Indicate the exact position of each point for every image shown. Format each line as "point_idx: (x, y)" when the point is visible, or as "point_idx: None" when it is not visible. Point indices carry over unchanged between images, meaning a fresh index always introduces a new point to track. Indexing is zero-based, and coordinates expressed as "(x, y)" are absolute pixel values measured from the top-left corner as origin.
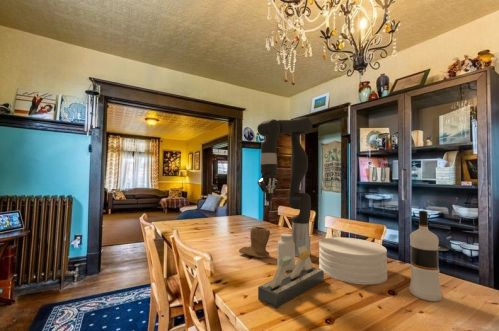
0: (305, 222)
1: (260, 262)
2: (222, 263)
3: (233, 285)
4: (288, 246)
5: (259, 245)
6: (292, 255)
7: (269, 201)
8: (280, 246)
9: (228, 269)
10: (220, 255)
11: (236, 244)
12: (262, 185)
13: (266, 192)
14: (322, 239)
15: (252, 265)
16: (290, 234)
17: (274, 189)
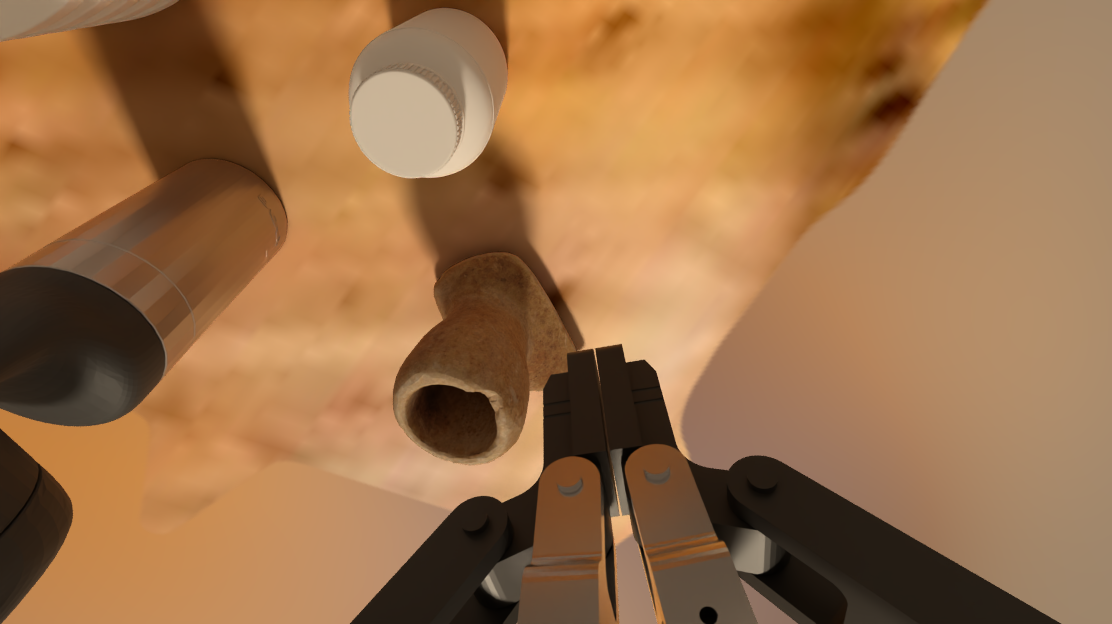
0: (39, 273)
1: (542, 219)
2: (724, 297)
3: (875, 11)
4: (446, 34)
5: (501, 319)
6: (421, 17)
7: (610, 349)
8: (493, 92)
9: (751, 216)
10: (666, 388)
11: (506, 478)
12: (1014, 602)
13: (705, 482)
14: (9, 30)
15: (609, 203)
16: (355, 122)
17: (478, 538)
